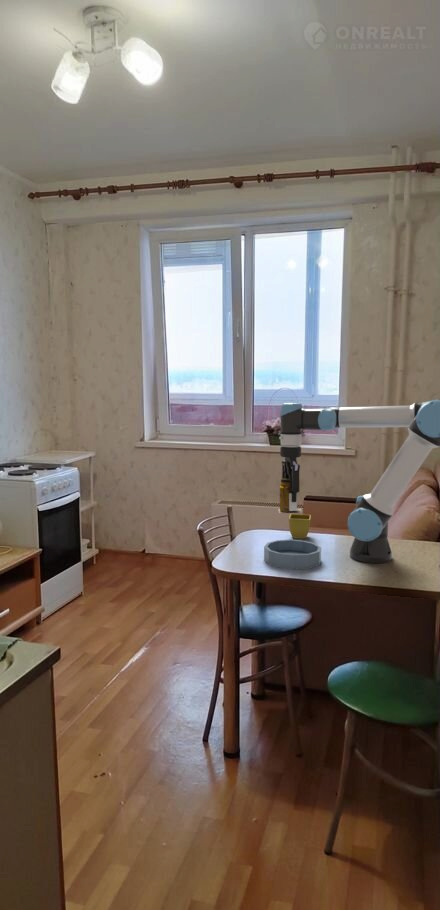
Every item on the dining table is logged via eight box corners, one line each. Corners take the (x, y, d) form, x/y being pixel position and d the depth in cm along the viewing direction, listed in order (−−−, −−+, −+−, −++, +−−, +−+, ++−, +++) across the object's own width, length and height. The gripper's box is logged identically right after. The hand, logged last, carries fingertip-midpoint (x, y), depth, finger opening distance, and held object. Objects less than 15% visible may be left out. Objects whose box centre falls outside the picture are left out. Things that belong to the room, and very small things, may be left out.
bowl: (308, 551, 224) (308, 538, 224) (329, 567, 205) (329, 553, 204) (258, 554, 220) (258, 541, 219) (274, 570, 200) (275, 556, 200)
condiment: (278, 509, 217) (278, 477, 215) (301, 509, 216) (301, 477, 215) (279, 513, 209) (279, 480, 208) (302, 513, 209) (303, 480, 208)
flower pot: (309, 540, 239) (310, 519, 238) (288, 539, 241) (288, 518, 240) (310, 535, 248) (311, 514, 247) (289, 534, 250) (290, 513, 248)
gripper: (273, 443, 219) (272, 504, 222) (288, 448, 200) (288, 514, 203) (292, 443, 220) (291, 503, 223) (309, 448, 202) (308, 513, 205)
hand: (290, 508), depth 213 cm, fingers closed on condiment, 6 cm apart
